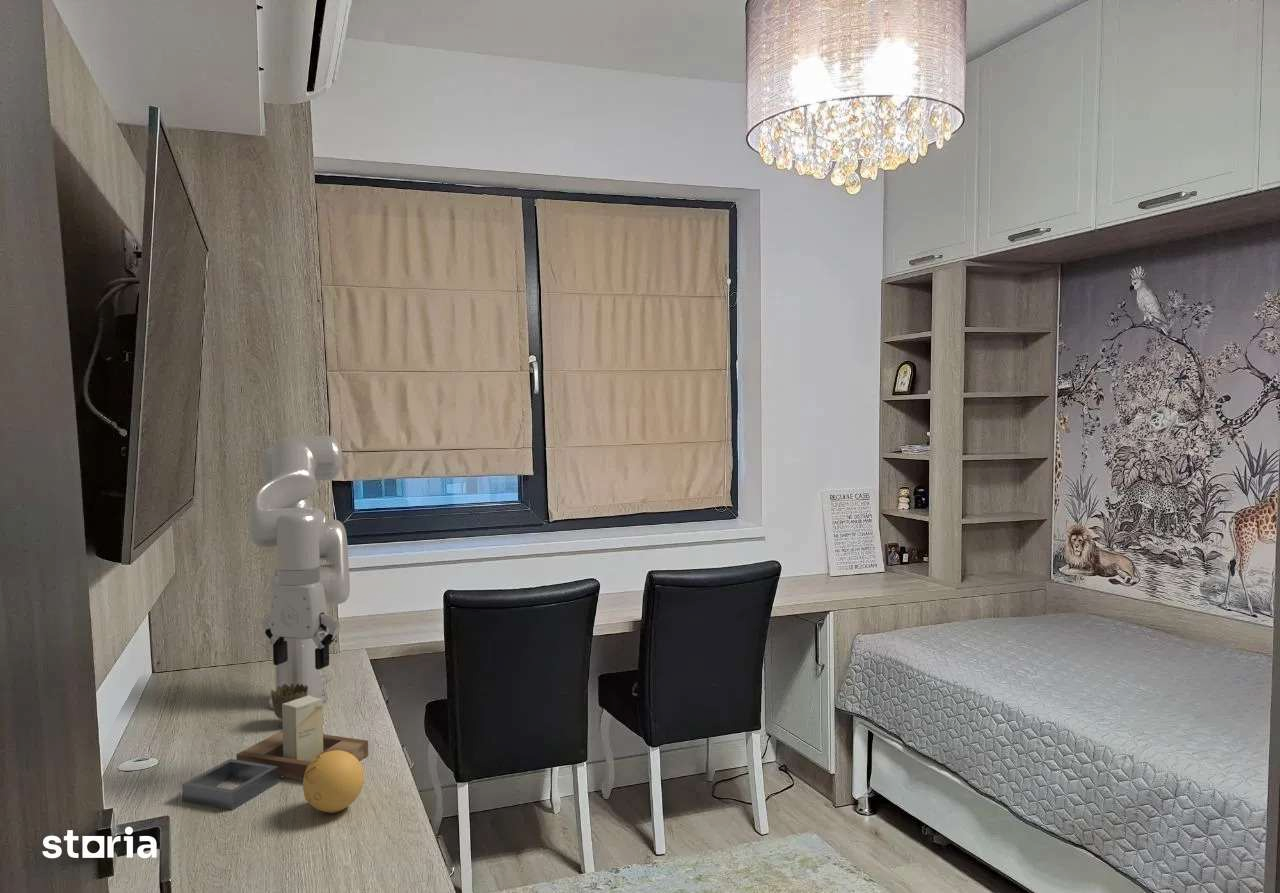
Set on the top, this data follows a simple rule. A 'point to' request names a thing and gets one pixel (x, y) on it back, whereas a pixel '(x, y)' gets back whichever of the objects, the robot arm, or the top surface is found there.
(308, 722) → the skincare box
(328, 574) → the robot arm
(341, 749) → the wooden tray frame
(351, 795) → the stress ball
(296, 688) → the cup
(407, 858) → the top surface
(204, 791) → the frame
